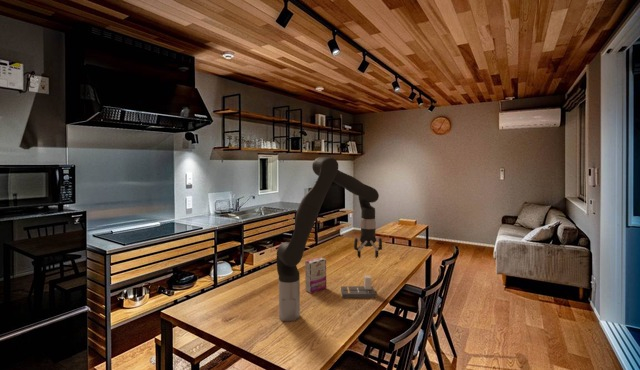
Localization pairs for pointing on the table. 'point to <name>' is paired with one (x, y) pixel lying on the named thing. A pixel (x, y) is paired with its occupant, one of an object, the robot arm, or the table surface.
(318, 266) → the candy bar box
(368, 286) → the fader knob
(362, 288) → the fader console
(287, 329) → the table surface
